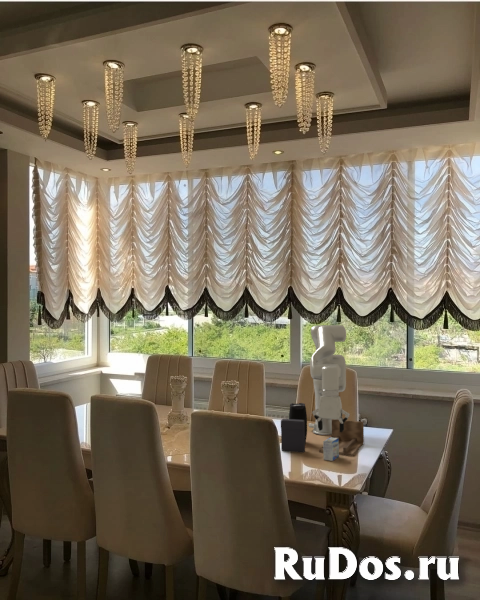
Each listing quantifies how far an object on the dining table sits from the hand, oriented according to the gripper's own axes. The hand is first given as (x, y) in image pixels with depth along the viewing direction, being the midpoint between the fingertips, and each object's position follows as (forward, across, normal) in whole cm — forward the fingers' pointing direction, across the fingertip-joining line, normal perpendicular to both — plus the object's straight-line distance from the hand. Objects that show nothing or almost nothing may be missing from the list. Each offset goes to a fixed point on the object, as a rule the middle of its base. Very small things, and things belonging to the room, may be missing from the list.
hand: (330, 430), depth 242 cm
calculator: (+13, -20, +5) cm, 24 cm away
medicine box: (+13, 0, +1) cm, 13 cm away
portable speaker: (+12, -23, +20) cm, 33 cm away
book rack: (+12, 0, +19) cm, 22 cm away
